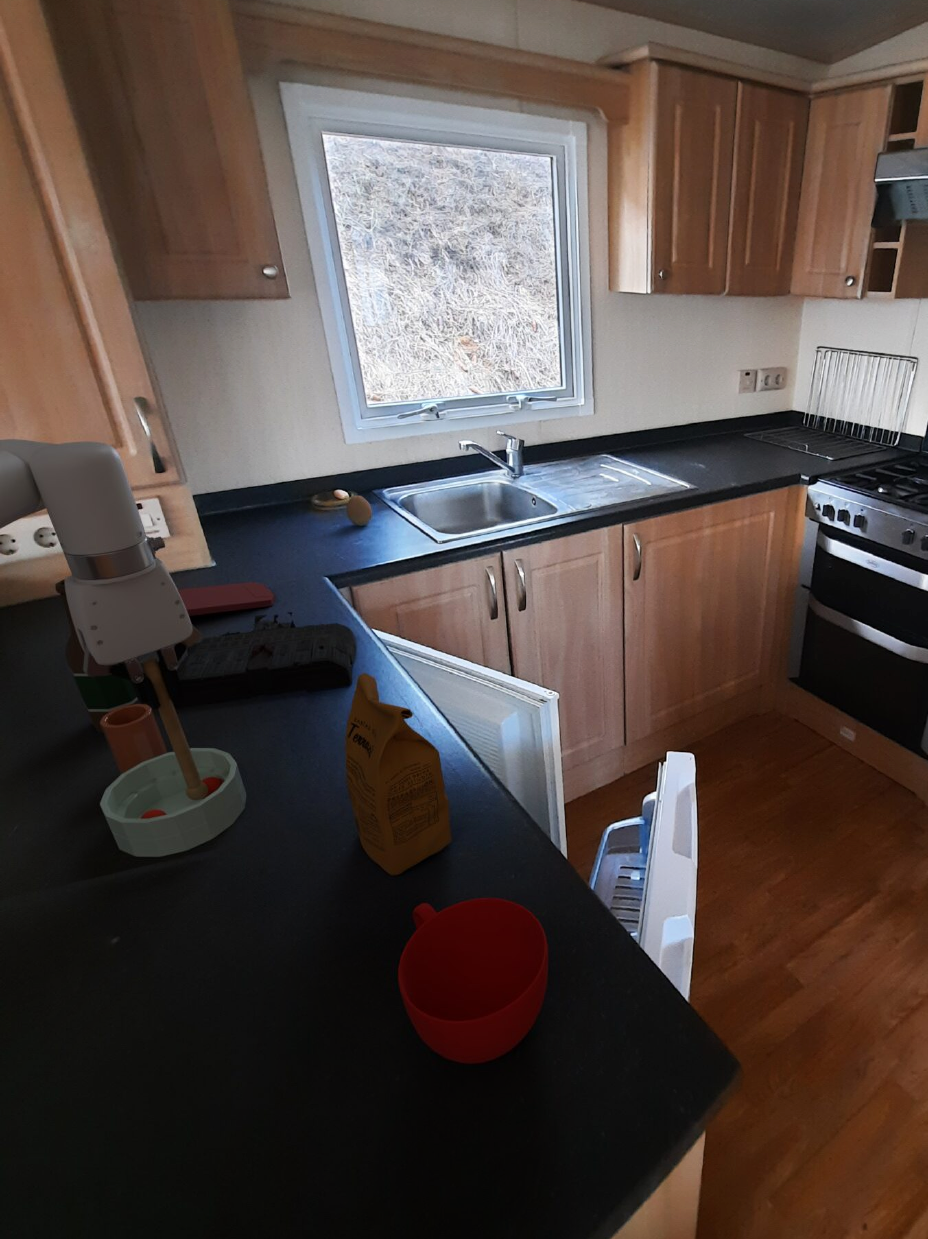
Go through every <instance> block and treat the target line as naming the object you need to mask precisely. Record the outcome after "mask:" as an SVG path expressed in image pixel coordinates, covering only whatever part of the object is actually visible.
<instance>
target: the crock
mask: <svg viewBox="0 0 928 1239" xmlns="http://www.w3.org/2000/svg"><path fill="white" fill-rule="evenodd" d="M100 725H101V727H102V730H103V732H104V733H103V734H104V737H105V740H106V742H107V745H108V747H109V749H110V752H111V755H112V757H113V759H114V761H115V765H116V766H117V769H118V771H119V775H121V774H123V773H125V772H126V771H128V770H130V769H132V768H133V767H135V766H137V765H138V764H140V763H142V762H144V761H147V760H150V759H152V758H155V757H158V756H160V755H163V754H166V753H168V750H167V747H166V744H165V741H164V739H163V736H162V734H161V731H160V728H159V726H158V723H157V720H156V718H155V714H154V710H153V709H152V708H151V707H149V706H148V705H144V704H133V705H127V706H123V707H120V708H118V709H115V710H112V711H111V712H109V713H108V714H106V715H105V716H103V717H102V719H101V721H100Z"/></svg>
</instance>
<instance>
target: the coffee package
mask: <svg viewBox="0 0 928 1239" xmlns="http://www.w3.org/2000/svg"><path fill="white" fill-rule="evenodd" d="M350 706H351V708H350V711H349V714H348V718H347V721H346V730H345V736H344V742H345V745H344V746H345V747H344V751H345V752H344V753H345V772H346V773H345V774H346V788H347V792H348V796H349V800H350V804H351V807H352V812H353V817H354V822H355V828H356V831H357V834H358V835H359V839H360V844H361V846H362V848H363V850H364V851H365V852H366V854H367V856H368V857H369V858H370V859H371V860H372V861H373V862H374V863H376V864H378V865H379V867H381V869H383V870H384V871H385V872H386V873H387V874H389V875H390V876H398V875H402V874H403V873H404V872H406V871H407V870H409V869H411V868H412V867H414V866H416V865H418V864H419V863H421V862H423V860H425V859H427V858H429V857H431V856H433V855H435V854H438V853H439V852H441V851H443V849H444V848H445V847H447V846H448V845H449V844H450V843H451V842H452V841H453V839H452V832H451V825H450V822H451V820H450V800H449V798H448V796H447V793H446V785H445V781H444V776H443V771H442V763H441V762H442V761H441V756H440V751H439V750H438V749H437V748H436V746H435V745H434V744H433V743H432V742H430V741H429V740H428V739H426V738H425V737H424V736H423V735H421V734H420V733H418V732H417V731H416V730H414V729H413V728H412V727H411V726H410V725H409V724H408V723H407V722H406V720H408V719H411V718H412V717H413V715H414V713H413V711H412V710H411V708H407V707H404V706H399V705H394V704H390V703H386V702H382V701H380V694H379V690H378V682H377V680H376V678H375V677H374V676H371V675H370V674H368V673H366V672H363V673H361V674H359V675H358V677H357V681H356V686H355V690H354V694H353V697H352V700H351V705H350Z"/></svg>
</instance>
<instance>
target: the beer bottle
mask: <svg viewBox="0 0 928 1239" xmlns="http://www.w3.org/2000/svg"><path fill="white" fill-rule="evenodd" d="M64 580H65V578H64V579H62V580H60V581H58V582H55V591H56V593H57V594H59V596H60V598H61V602H62V605H63V608H64V612H65V614H66V618H67V621H68V624H69V630H70V636H69V638H68V641H67V643H66V645H65V658H66V662H67V665H68V668H69V670H70V673H71V675H72V677H73V680H74V683H75V685H76V687H77V690H78V692H79V695H80V697H81V700H82V702H83V704H84V707H85V709H86V711H87V714H88V716H89V719H90V721H91V722H92V724H93V726H94V728H95V729H96V732H97V733H98V734H104V732H103V730H102V727H101V725H100V721H101V719H102V717H103V716H105V715H106V714H108V713H109V712H111V711H112V710H115V709H118V708H120V707H123V706H127V705H133V704H141V703H140V702H139V700H138V698H137V696H136V693H135V691H134V688H133V686H132V683H131V681H130V680H127V679H124V678H120V677H117V676H114V675H108V676H93V677H91V676H88V675H87V674H86V673H85V672H84V671H83V666H84V655H85V652H84V650H83V648H82V646H81V644H80V642H79V639H78V636H77V633H76V630H75V627H74V623H73V620H72V617H71V613H70V610H69V605H68V601H67V596H66V591H65V581H64ZM144 705H148V704H146V703H144ZM148 706H149V705H148ZM149 707H150V706H149ZM150 708H151V707H150Z"/></svg>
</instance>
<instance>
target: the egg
mask: <svg viewBox="0 0 928 1239" xmlns="http://www.w3.org/2000/svg"><path fill="white" fill-rule="evenodd" d="M371 506H372V505H371V504H370V503H369V501H368V500H367V499H366V498H365V497H363V496H362V495H353V496H351V497H350V498H349V499H348V501H347V503H346V507H345V512H346V516H347V519H348V520H349V522H350V523H352V524H353V525H355V526H358V527H359V526H360V527H364V526H365V525H368V523H369V522H370V521H371V519H372V517H373V510H372V507H371Z"/></svg>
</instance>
